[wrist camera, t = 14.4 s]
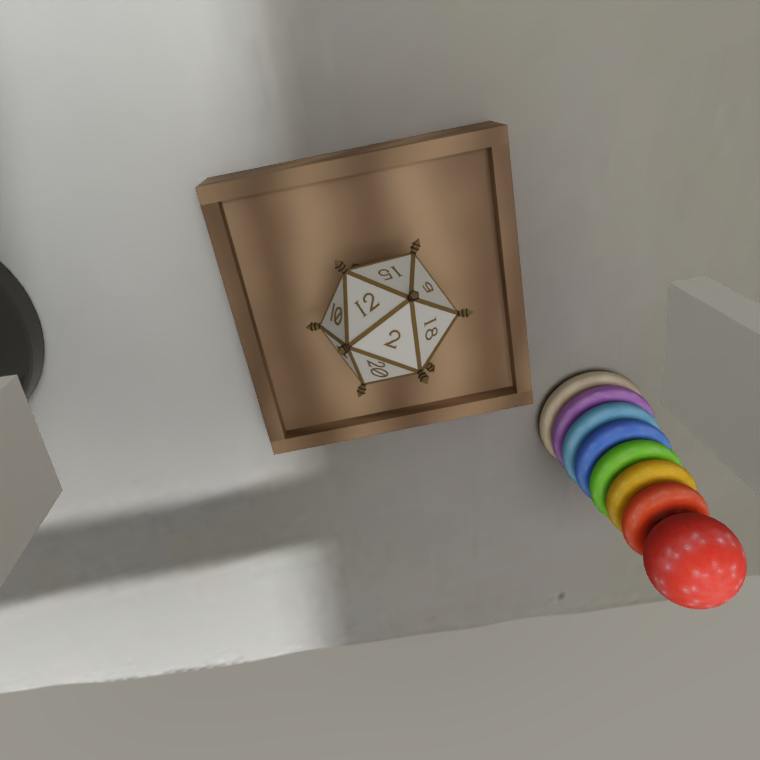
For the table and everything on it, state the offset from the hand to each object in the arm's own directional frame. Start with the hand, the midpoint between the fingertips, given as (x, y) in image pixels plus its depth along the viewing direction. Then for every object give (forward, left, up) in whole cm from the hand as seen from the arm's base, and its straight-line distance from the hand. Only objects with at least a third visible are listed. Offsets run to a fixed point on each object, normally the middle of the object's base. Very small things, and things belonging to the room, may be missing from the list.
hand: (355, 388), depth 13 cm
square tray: (+1, -7, -31) cm, 32 cm away
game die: (+1, -7, -28) cm, 29 cm away
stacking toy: (+15, -21, -31) cm, 40 cm away
